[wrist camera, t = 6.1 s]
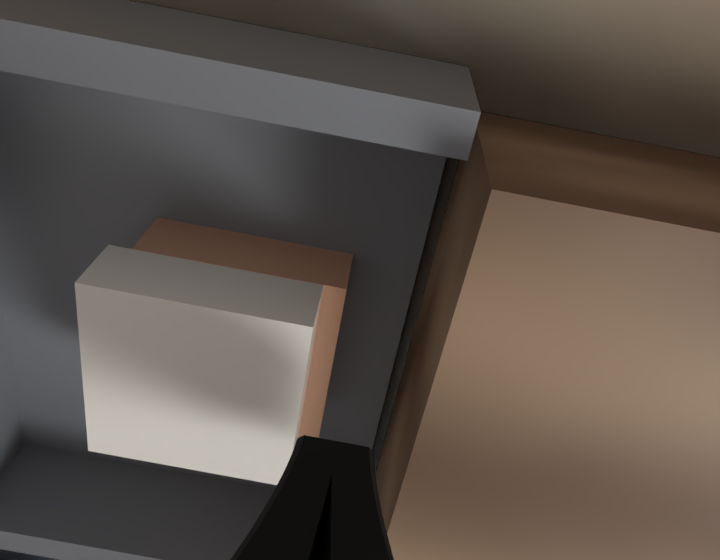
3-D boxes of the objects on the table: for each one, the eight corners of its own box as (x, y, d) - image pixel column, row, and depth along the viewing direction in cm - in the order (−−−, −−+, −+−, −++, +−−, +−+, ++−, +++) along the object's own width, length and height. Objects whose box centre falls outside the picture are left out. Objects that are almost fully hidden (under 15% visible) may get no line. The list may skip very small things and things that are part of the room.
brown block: (788, 577, 19) (868, 724, 16) (368, 501, 19) (356, 633, 16) (1096, 231, 13) (1336, 351, 10) (472, 109, 13) (491, 189, 9)
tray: (354, 516, 19) (343, 610, 17) (3, 452, 19) (-61, 537, 17) (468, 66, 12) (480, 112, 10) (-88, -43, 12) (-223, -25, 10)
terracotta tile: (135, 408, 15) (157, 368, 17) (317, 441, 16) (325, 399, 17) (131, 248, 13) (157, 217, 14) (346, 289, 13) (353, 254, 14)
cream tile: (87, 451, 14) (115, 404, 15) (287, 486, 14) (298, 438, 16) (74, 282, 12) (108, 244, 13) (312, 327, 12) (323, 285, 13)
